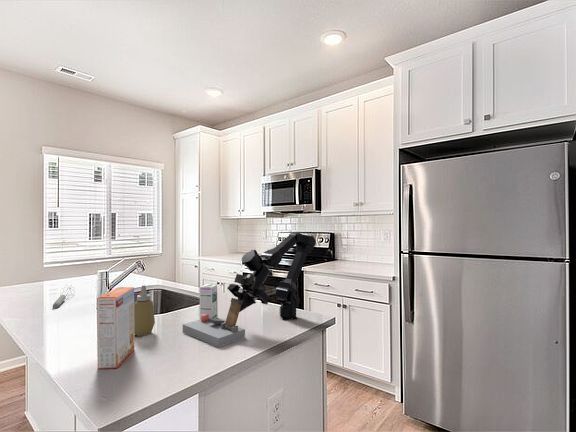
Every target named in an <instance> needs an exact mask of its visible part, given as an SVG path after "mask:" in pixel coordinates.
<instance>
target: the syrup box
mask: <svg viewBox="0 0 576 432" xmlns="http://www.w3.org/2000/svg"><path fill="white" fill-rule="evenodd" d="M202 314H209V317H210V318H213V319H218V315H219V314H218V284H215V283H214V284H213V283H206V284H204V285H202V286H199V320H200V319H201V315H202Z"/></svg>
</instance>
